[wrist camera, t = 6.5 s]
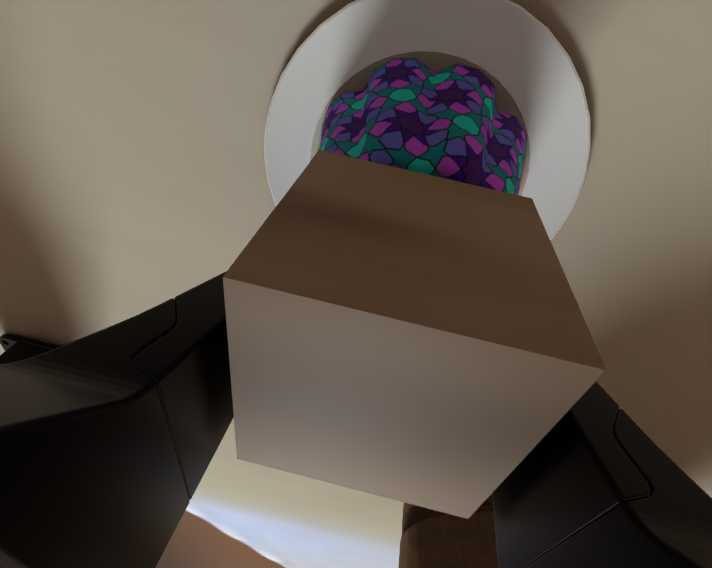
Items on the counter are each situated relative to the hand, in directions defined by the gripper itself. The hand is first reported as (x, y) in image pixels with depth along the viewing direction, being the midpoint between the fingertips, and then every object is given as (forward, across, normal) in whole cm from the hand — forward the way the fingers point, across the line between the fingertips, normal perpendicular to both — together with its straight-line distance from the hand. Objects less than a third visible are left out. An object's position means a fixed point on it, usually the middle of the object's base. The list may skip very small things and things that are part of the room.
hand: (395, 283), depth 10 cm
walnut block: (+1, 0, 0) cm, 1 cm away
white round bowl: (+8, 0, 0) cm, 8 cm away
